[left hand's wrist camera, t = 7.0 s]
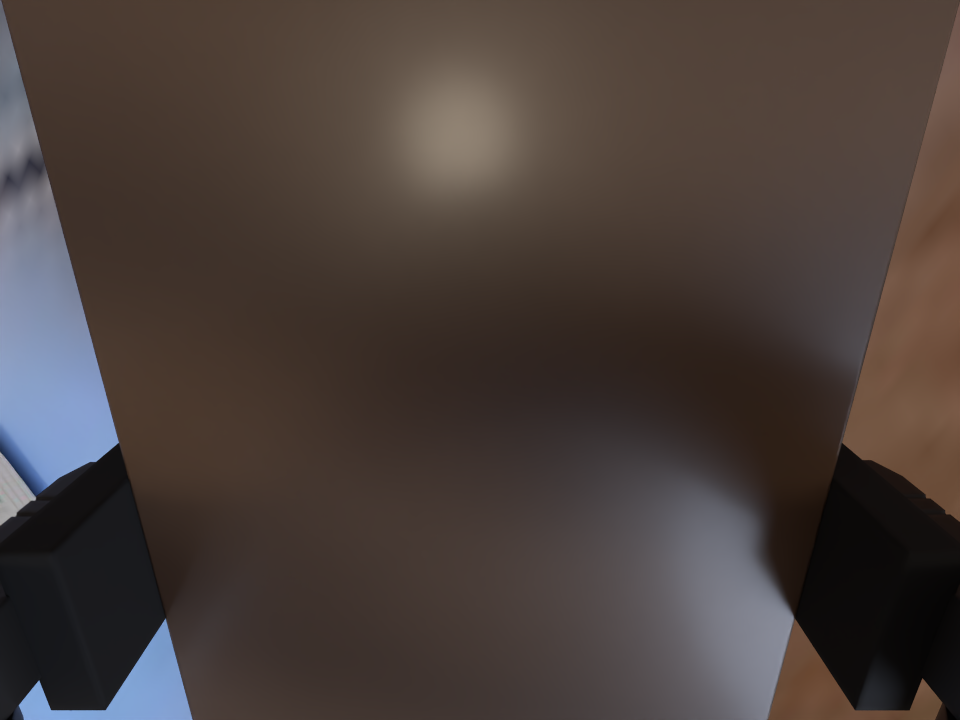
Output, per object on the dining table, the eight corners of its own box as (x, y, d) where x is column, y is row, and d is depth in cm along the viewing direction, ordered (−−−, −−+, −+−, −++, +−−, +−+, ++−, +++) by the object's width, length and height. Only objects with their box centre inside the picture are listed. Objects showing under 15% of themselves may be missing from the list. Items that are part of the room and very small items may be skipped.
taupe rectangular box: (248, -212, 13) (-270, -989, 4) (712, -211, 13) (1232, -994, 4) (327, 478, 19) (200, 761, 11) (632, 479, 19) (758, 761, 11)
